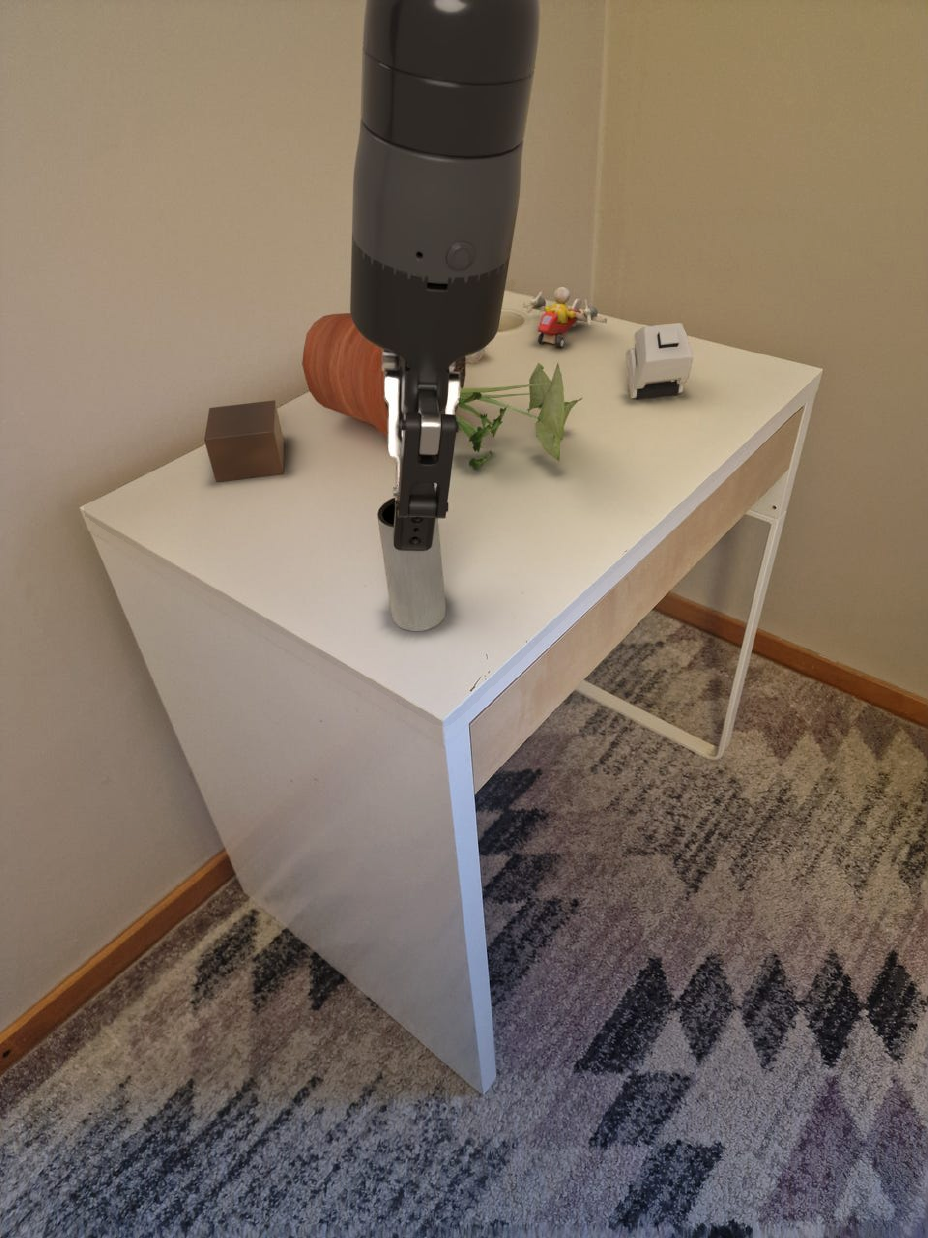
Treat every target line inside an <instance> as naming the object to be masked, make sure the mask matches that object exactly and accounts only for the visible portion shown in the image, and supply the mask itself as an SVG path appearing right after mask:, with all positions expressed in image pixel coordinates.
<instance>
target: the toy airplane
mask: <svg viewBox="0 0 928 1238" xmlns="http://www.w3.org/2000/svg"><path fill="white" fill-rule="evenodd" d="M553 293H554V294H553V299H554V301H555V302H554V303H553V304H552V305H551V306H550V305H547V301H546V299H545V298H544V297H542V294H543V291H542V290H541V291H539V293H538V294H537V295H535V296H533V297H531V299H530V303H529V302H523V305H522V307H523V308H527V309H526V313H531V312H532V310H535V311H541V312H544V313H543V315H542V317H541V319H540V322H539V325H538V329H537V332H538V333H539V335H538V336H537V337H538V338H537V343H538V344H540V345H544V342H545V343H549V344H553V345H555V344H556V347H557V348H558V349H562V348H563V347H564V345H565V337H564V336H562V335H564V333H566V332H567V331H568V330H569V329H570V328H572V327H573V328H575V327H577V324H578V322H583V323H587V325H589V326H590V325H592V322H597V323H601V324H607V323H608V318H607V317H603V316H598V314H599V313H598V309H597V308H596V307H595V306H593V305H588V301H587V299H586V298H584V299H583V304H584V309H583V312H582V311H581V310H580V309H581V304H582V299H581V298H576V299H575V300H573V303H572V305H571V307H570V308H569V306H568V305H567V304H566V303H567V302H568V301H570V298H571V292H570V291H569V289H568V288H567V287H565V286H559V287H558V288H556V289H555V291H554V292H553Z"/></svg>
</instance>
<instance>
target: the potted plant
mask: <svg viewBox="0 0 928 1238" xmlns="http://www.w3.org/2000/svg"><path fill="white" fill-rule="evenodd" d="M303 345H304V346H303V351H302V352H303V353H302V361H301V362H302V363H301V365H302V370H303V373H304V378H305V381H306V384H307V387H308V388H307V389H308V391H309V393H310V394H311V396H312V397H313V398H314V400H315V401H316V402H317V403H318V404H319V405H321V406H322V407H324V408H325V409H328V410H331V411H334V412H337V413H340V414H342V415H344V416H347V417H350V418H353V419H356V420H359V421H361V422H364V423H367V424H370V425H372V426H375V428H376V430H377V431H378V432H379V433H381V434H382V435H383V436H385V437H386V438H387V419H388V405H387V403H386V402H385V400H384V398H383V371H382V348H380V347H378V346H376V345H375V344H373V343H371V342H370V341H369V340H367V339H366V338H365V337H364V336H363V335H362V334H361V333H360V332H359V331H358V329H357V328H356V326H355V325H354V323H353V320H352V317H351V313H350V312H343V313H332V314H327V315H322V317H320V318H319V319H317V320H316V321H314V322H313V324H312V325H311V326H310V328H309V329H308V331H307V333H306V335H305V341H304V344H303ZM466 364H467V362H466V357H463V358H461V359H459V360H457V361H456V363H455V368H454V371H453V372H460V400H459V402H458V404H457V405H456V406H455V414H456V413H457V410H458V408H459V407H460V408H462V409H464V410H466V411H469V412H471V413H473V414H474V415H475V416H476V417H478V419H480V421H481V425H482V426H477V429H475V427H473V426H472V424H470V423H469V422H467V421H466V420H465V419H463V418H462V417H460V416H458V415H457V414H456V420H458V423H459V428H460V430H461V431H462V433H463V434H464V435H465V436H467V437H468V438H469V439H468V441H469V443H471V445H472V449H473V452H477V453H480V450H481V449H483V450H484V449H485V448H484V447H483V446H482V441H483V439H484V438H485V437H486V436H487V435H489V434H491V435H492V438H495V435H496V433H497V430H498V429H499V426H500V425H502V423H503V422H504V421H503V417H504V415H505V413H506V411H507V410H508V409H509V410H511V411H515V412H517V413H519V414H522V415H525V416H527V417H530V418H533V419H535V420H537V421H536V422H535V423H534V426H535V427H534V428H535V437H536V438H537V440H538V442H539V443H540V444H541V446H542V448H543V450H545V451H546V452H547V453H549V455H550V456H551V457H553V458H554V459H556V460H557V461H558V462H560V455H561V442H562V441H563V440H564V439H563V438H564V431H565V424H566V422H567V419H568V416H569V415H570V412H571V410H572V409H573V408H574V407H575V405H577V403H578V402H580V401H581V400H583V397H580V398H579V399H575V400H572V401H565V393H564V392H565V389H564V383H563V375H562V372H561V369H560V365H559V362H557V363H556V366H555V369H554V372H553V376H552V378H551V379H550V378H549V376H548V375H547V373H546V372H545V370H544V369H545V367H544V366H543V365H542V364H541V363H540V362H538V363H537V364H536V365H535V368H534V369H533V371H532V374H530V377H529V380H528V383H529V384H516V385H507V386H506V385H505V386H496V387H495V386H494V387H464V386H465V382H466V375H467V374H466V373H467V372H466V369H467V367H466ZM525 387H528V389H529V393H528V392H527V393H524V392H523V393H506V394H485V393H492V392H500V391H501V392H502V391H507V390H513V389H520V388H525ZM483 393H484V394H483ZM527 395H529V402H528V403H529V404H528V408H527V409H526V410H527V412H526V411H524V410H521V409H518V408H516V407H513V406H511V405H509V404H510V403H508V404H506V403H504V402H501V401H499V400H496V399H499V398H507V397H517V396H527ZM474 401H479V402H484V403H488V404H491V405H492V404H493V405H496V406H499V407H500V408H499V411H498V412H499V415H498V416H497V417H496V418H493V420H492V421H491V420H490V419H489V418H488V413H486V414H485V413H484V414H482V413H481V412H479V411H477V410H476V409H475V408H473V407H472V406H470V405H469V404H468V403H471V402H474ZM502 407H503V408H502ZM533 409H539V410H540V411H539V415H538V416H536V415H535V414H531V413H530V411H531V410H533ZM488 453H489V454H488V456H486V455H484V456H483V457H482V458H478V459H476V458H475V457H473V458H470V460H469V461H468V465H469V467H472V469H473V470H477V469H478V468H479V467H480V466H482V465H483V464H484V463H485V462H486V461H487V460H488V459H489V458H490V457H491V456H493V454H494V452H493V451H492V450H491V449H490V451H489V452H488Z"/></svg>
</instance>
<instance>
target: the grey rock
mask: <svg viewBox="0 0 928 1238" xmlns="http://www.w3.org/2000/svg"><path fill="white" fill-rule="evenodd" d="M485 353H486V347H485V348H483V349H482V350H480V351H478V352H476V353H474V354H472V355H468V356H466V363H469V364H474V363H476V362H478V361H481V359H482V357H483V356H484V354H485Z"/></svg>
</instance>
